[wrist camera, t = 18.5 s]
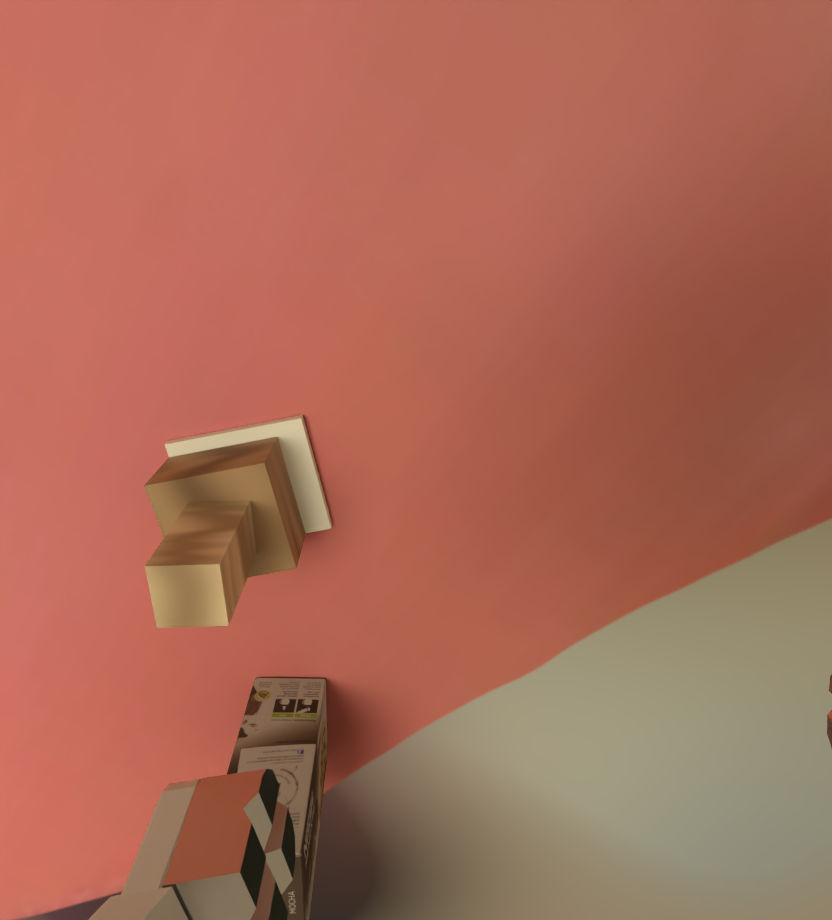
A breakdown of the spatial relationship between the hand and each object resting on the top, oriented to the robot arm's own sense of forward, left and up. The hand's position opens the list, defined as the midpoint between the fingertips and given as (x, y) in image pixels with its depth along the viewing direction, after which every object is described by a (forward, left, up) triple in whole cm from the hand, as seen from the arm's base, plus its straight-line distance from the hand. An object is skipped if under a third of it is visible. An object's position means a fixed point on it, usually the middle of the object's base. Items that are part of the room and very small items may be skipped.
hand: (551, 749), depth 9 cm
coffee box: (+18, +32, -37) cm, 52 cm away
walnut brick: (+16, +10, -36) cm, 41 cm away
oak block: (+16, +10, -31) cm, 36 cm away
